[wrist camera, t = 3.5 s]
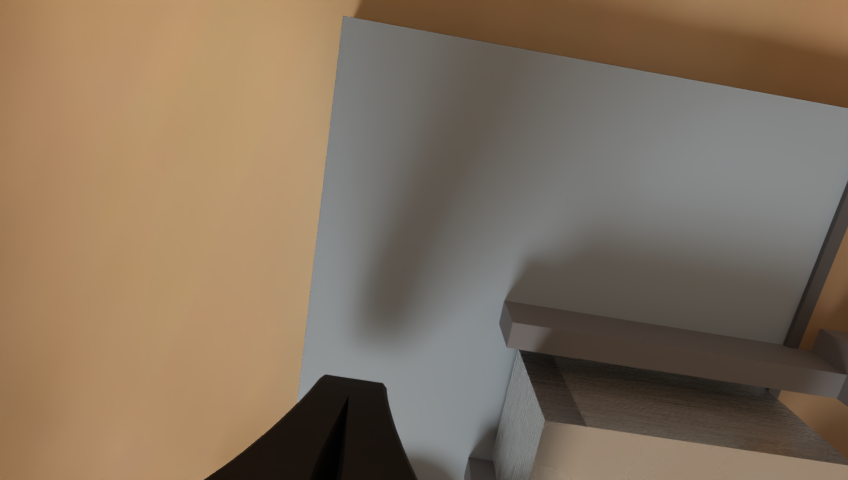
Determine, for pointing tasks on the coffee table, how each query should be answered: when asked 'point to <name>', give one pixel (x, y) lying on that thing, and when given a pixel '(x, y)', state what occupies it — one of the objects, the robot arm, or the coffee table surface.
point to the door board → (569, 234)
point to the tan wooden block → (649, 427)
